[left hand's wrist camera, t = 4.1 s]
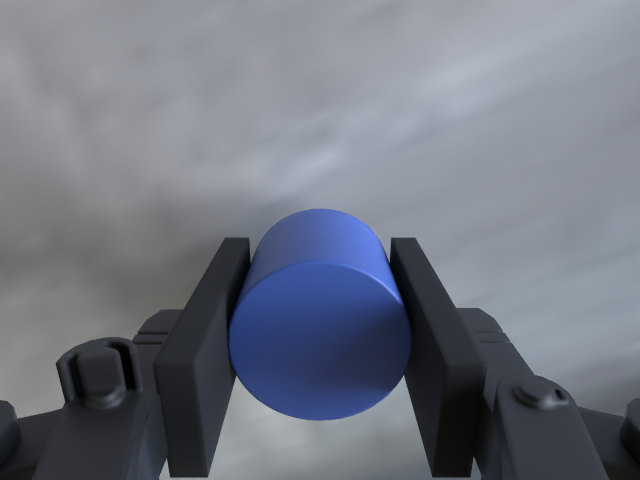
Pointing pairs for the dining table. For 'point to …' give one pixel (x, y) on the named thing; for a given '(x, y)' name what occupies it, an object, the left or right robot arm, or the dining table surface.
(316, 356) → the canister
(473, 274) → the dining table surface
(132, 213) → the dining table surface
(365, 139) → the dining table surface
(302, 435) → the dining table surface
